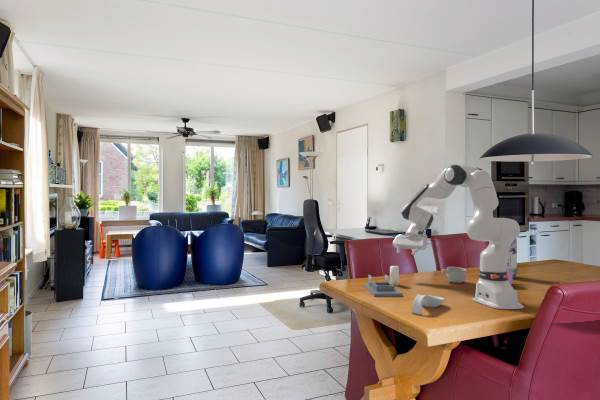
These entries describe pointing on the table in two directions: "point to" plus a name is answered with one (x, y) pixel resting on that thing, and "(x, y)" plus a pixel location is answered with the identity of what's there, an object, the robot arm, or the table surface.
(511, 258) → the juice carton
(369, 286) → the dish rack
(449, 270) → the teacup
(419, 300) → the grey curved piece
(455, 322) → the table surface
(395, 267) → the white rectangular block
